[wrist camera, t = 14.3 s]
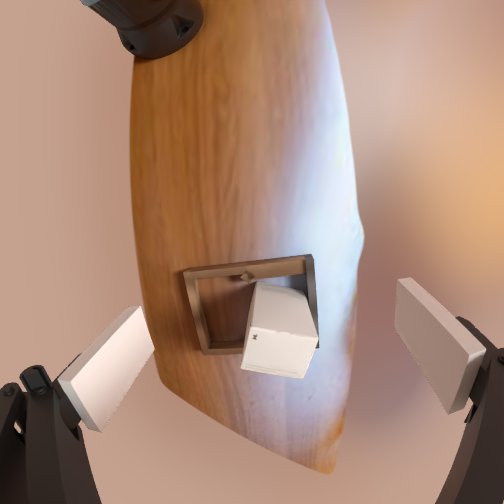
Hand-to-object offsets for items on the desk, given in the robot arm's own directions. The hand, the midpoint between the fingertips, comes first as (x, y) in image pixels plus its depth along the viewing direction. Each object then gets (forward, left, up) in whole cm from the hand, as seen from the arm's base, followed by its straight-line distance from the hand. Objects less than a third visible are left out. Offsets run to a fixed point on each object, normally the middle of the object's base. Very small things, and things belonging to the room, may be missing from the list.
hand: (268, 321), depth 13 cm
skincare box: (+13, -1, -31) cm, 33 cm away
